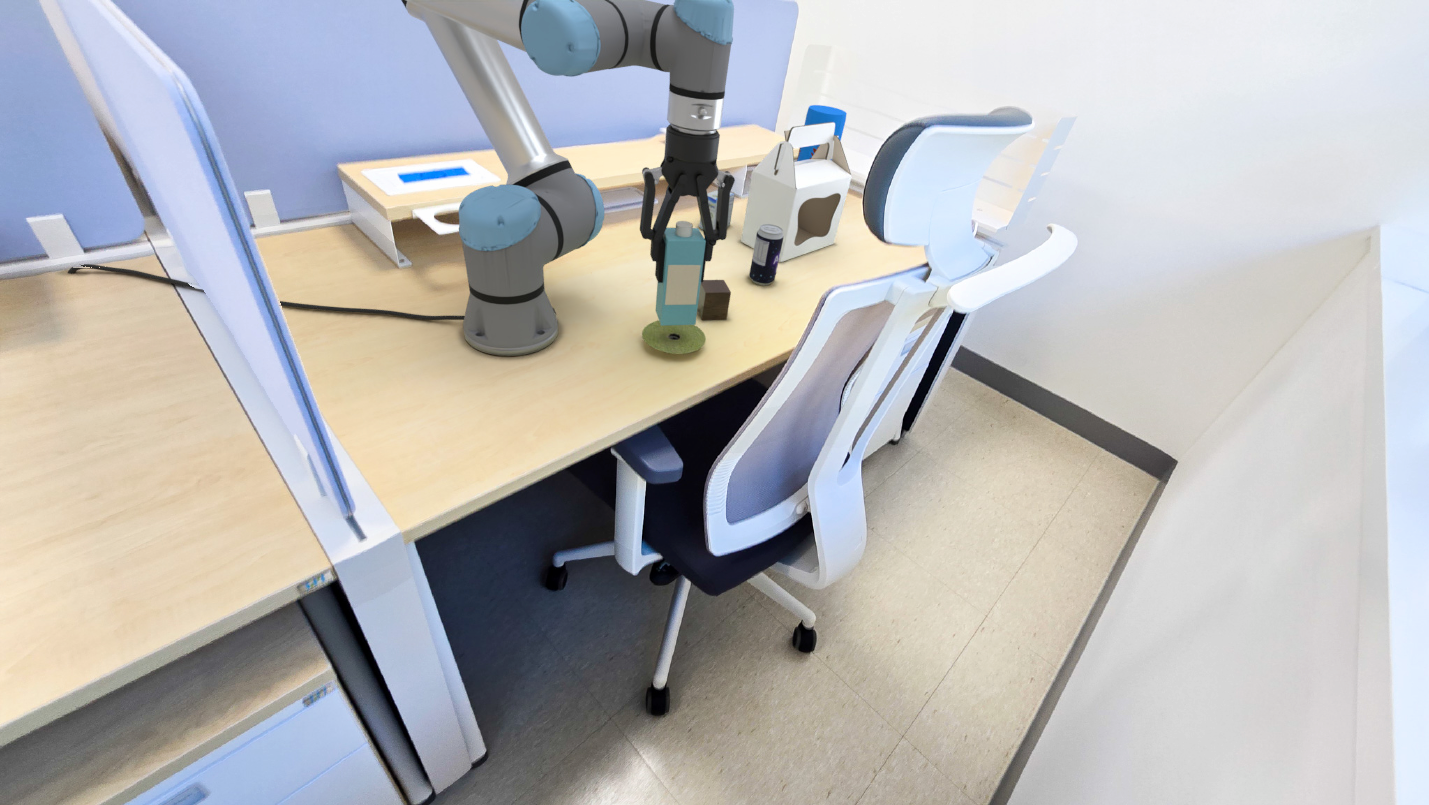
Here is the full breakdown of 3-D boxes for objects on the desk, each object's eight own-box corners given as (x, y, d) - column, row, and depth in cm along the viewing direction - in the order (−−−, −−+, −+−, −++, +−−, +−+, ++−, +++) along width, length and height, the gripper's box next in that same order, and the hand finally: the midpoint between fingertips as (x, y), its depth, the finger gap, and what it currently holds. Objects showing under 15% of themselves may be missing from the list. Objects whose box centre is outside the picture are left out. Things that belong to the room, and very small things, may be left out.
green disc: (629, 336, 103) (630, 327, 102) (681, 322, 109) (682, 313, 108) (664, 369, 96) (665, 359, 95) (716, 352, 102) (718, 343, 101)
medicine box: (716, 221, 151) (721, 187, 146) (730, 226, 149) (735, 193, 144) (698, 228, 146) (702, 194, 140) (712, 234, 144) (717, 199, 138)
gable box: (795, 225, 155) (820, 113, 138) (834, 244, 149) (865, 128, 132) (739, 242, 142) (759, 119, 125) (779, 263, 135) (806, 137, 118)
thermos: (788, 202, 169) (807, 110, 154) (790, 191, 178) (808, 102, 162) (824, 209, 169) (847, 117, 153) (825, 197, 177) (847, 109, 162)
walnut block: (701, 320, 110) (705, 292, 107) (695, 307, 114) (699, 279, 110) (726, 319, 112) (731, 292, 108) (719, 306, 115) (724, 279, 112)
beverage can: (772, 289, 124) (783, 236, 117) (746, 283, 125) (756, 230, 117) (775, 278, 129) (786, 226, 121) (750, 272, 129) (760, 221, 122)
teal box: (657, 330, 99) (673, 308, 86) (650, 249, 101) (665, 215, 87) (690, 329, 101) (712, 307, 87) (683, 250, 102) (704, 216, 89)
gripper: (629, 130, 74) (624, 290, 89) (766, 139, 80) (740, 288, 94) (621, 115, 80) (617, 268, 94) (749, 124, 85) (728, 268, 100)
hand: (679, 278), depth 94 cm, fingers closed on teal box, 6 cm apart
